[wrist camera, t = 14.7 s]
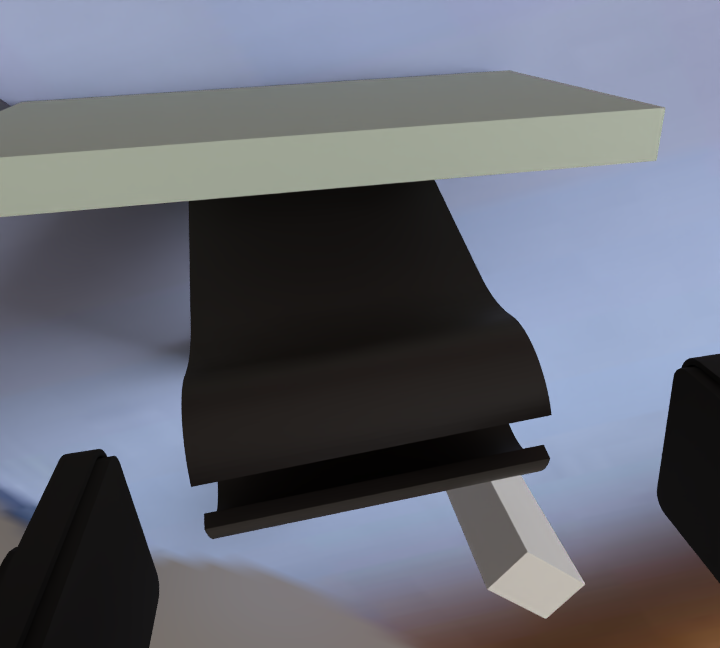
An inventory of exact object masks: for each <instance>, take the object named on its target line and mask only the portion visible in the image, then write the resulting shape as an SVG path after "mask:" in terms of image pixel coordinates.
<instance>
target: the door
mask: <svg viewBox="0 0 720 648" xmlns="http://www.w3.org/2000/svg"><path fill="white" fill-rule="evenodd" d="M664 113H665V108H664V107H660V106H656V105H652V104H648V103H644V102H639V101H635V100H631V99H627V98H623V97H618V96H614V95H610V94H606V93H602V92H597V91H593V90H589V89H585V88H581V87H576V86H572V85H568V84H564V83H560V82H556V81H551V80H547V79H543V78H539V77H535V76H530V75H526V74H522V73H518V72H514V71H509V70H508V71H493V72H477V73H462V74H447V75H431V76H416V77H400V78H385V79H369V80H354V81H338V82H323V83H307V84H292V85H276V86H261V87H246V88H230V89H215V90H199V91H184V92H168V93H153V94H137V95H122V96H106V97H91V98H75V99H60V100H45V101H29V102H20V103H18V104H16V105H13V106H11V107H10V106H9V105H8V104H7V103H6V102H4V101H3V100H1V99H0V217H7V216H19V215H30V214H42V213H54V212H65V211H77V210H89V209H100V208H112V207H123V206H135V205H147V204H158V203H170V202H181V201H193V200H205V199H216V198H228V197H239V196H251V195H263V194H274V193H286V192H298V191H309V190H321V189H332V188H344V187H356V186H367V185H379V184H390V183H402V182H414V181H425V180H437V179H448V178H460V177H472V176H483V175H495V174H506V173H518V172H530V171H541V170H553V169H565V168H576V167H588V166H599V165H611V164H623V163H634V162H646V161H656V160H657V154H658V148H659V142H660V136H661V130H662V124H663V118H664Z"/></svg>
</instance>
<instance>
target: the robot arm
mask: <svg viewBox="0 0 720 648" xmlns="http://www.w3.org/2000/svg"><path fill="white" fill-rule="evenodd" d="M657 497H658V501H659V504H660V507H661V509H662V510H663V512H664V514H665V515H666V516H667V517H668V519H669V520H670V521H671V522H672V524H673V525H674V526H675V527H676V529H677V530H678V531H679V532H680V534H681V535H682V536H683V537H684V539H685V540H686V541H687V542H688V544H689V545H690V546H691V548H692V549H693V550H694V551H695V553H696V554H697V555H698V556H699V558H700V559H701V560H702V561H703V563H704V564H705V565H706V566H707V568H708V569H709V570H710V571H711V573H712V574H713V575H714V577H715V578H716V579H717V580H718V582H719V583H720V354H715V355H709V356H702V357H695V358H689V359H687V360H686V361H685V362H684V363H683V365H682V368H680V369H678V370H677V371H676V372H675V374H674V378H673V384H672V391H671V398H670V405H669V412H668V418H667V425H666V432H665V439H664V446H663V452H662V459H661V466H660V473H659V480H658V486H657ZM158 598H159V581H158V575H157V572H156V569H155V566H154V563H153V560H152V557H151V554H150V551H149V548H148V545H147V542H146V539H145V536H144V533H143V530H142V527H141V524H140V521H139V518H138V515H137V512H136V509H135V507H134V504H133V501H132V498H131V495H130V492H129V489H128V486H127V483H126V480H125V477H124V474H123V471H122V468H121V465H120V462H119V460H118V458H117V457H116V456H110V457H107V455H106V453H105V452H104V451H103V450H101V449H96V450H89V451H83V452H76V453H70V454H65V455H63V456H62V457H61V458H60V460H59V462H58V464H57V466H56V468H55V470H54V472H53V474H52V476H51V478H50V481H49V483H48V485H47V487H46V489H45V491H44V493H43V495H42V497H41V499H40V501H39V503H38V506H37V508H36V510H35V512H34V514H33V516H32V518H31V520H30V522H29V524H28V526H27V528H26V531H25V533H24V535H23V537H22V539H21V541H20V543H19V545H18V547H15V548H14V549H12V550H11V551H9V553H8V554H7V556H6V557H5V559H4V560H3V562H2V564H1V566H0V648H149V645H150V640H151V635H152V630H153V625H154V619H155V615H156V609H157V604H158Z"/></svg>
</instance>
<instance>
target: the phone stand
mask: <svg viewBox="0 0 720 648" xmlns="http://www.w3.org/2000/svg"><path fill="white" fill-rule="evenodd" d="M189 247H190V312H191V342H190V355H189V362H188V367H187V371H186V374H185V376H184V380H183V386H182V428H183V439H184V447H185V455H186V462H187V468H188V473H189V479H190V484H191V487H193V486H198V485H203V484H208V483H213V482H218V508H217V511H216V512H211V513H206V514H204V525H205V531H206V533H207V534H208V536H209V537H210V538H212V539H215V538H220V537H225V536H230V535H234V534H239V533H244V532H249V531H254V530H259V529H263V528H268V527H273V526H278V525H283V524H287V523H292V522H297V521H302V520H307V519H312V518H316V517H321V516H326V515H331V514H336V513H340V512H345V511H350V510H355V509H360V508H365V507H369V506H374V505H379V504H384V503H389V502H393V501H398V500H403V499H408V498H413V497H418V496H422V495H427V494H432V493H437V492H442V491H447V490H451V489H456V488H461V487H466V486H471V485H475V484H480V483H485V482H490V481H495V480H500V479H504V478H509V477H514V476H519V475H524V474H528V473H533V472H538V471H542V470H544V469H545V468H546V466H547V465H548V463H549V460H550V457H549V455H548V453H547V451H546V449H545V447H544V445H540V446H535V447H530V448H525V449H523V448H522V447H521V446H520V444H519V443H518V441H517V440H516V438H515V436H514V434H513V432H512V430H511V428H510V425H509V423H514V422H519V421H524V420H529V419H534V418H539V417H544V416H549V415H551V408H550V401H549V396H548V391H547V387H546V383H545V379H544V375H543V372H542V369H541V366H540V363H539V360H538V357H537V355H536V352H535V350H534V348H533V345H532V343H531V341H530V339H529V337H528V335H527V334H526V332H525V330H524V329H523V327H522V326H521V325H520V323H519V322H518V321H517V320H516V319H515V318H514V317H513V316H511V315H510V314H509V313H507V312H506V311H505V310H504V309H503V308H502V307H501V306H500V305H499V304H498V303H497V302H496V300H495V299H494V298H493V296H492V295H491V293H490V292H489V290H488V288H487V287H486V285H485V283H484V281H483V279H482V277H481V275H480V273H479V271H478V269H477V267H476V265H475V263H474V261H473V259H472V257H471V255H470V253H469V251H468V249H467V246H466V244H465V242H464V240H463V238H462V236H461V234H460V232H459V230H458V228H457V226H456V224H455V222H454V220H453V218H452V215H451V213H450V211H449V209H448V207H447V205H446V203H445V201H444V199H443V197H442V195H441V193H440V191H439V189H438V186H437V184H436V182H435V180H425V181H414V182H402V183H390V184H379V185H367V186H356V187H344V188H332V189H321V190H309V191H298V192H286V193H274V194H263V195H251V196H239V197H228V198H216V199H205V200H193V201H189Z"/></svg>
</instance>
